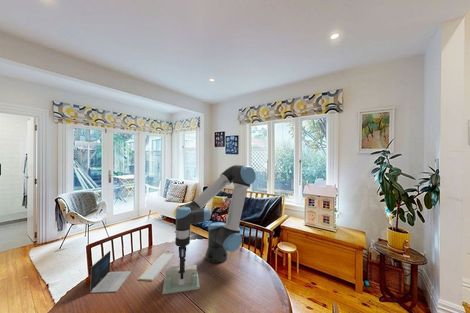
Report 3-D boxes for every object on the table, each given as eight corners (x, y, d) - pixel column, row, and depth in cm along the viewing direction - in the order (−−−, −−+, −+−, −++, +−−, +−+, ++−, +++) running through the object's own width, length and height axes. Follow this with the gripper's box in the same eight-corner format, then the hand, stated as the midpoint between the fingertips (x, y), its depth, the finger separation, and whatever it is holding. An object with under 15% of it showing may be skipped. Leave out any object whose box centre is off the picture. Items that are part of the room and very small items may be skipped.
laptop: (116, 292, 99) (117, 266, 99) (89, 293, 98) (90, 267, 98) (131, 272, 117) (132, 250, 117) (109, 273, 115) (109, 250, 116)
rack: (197, 273, 116) (197, 263, 116) (199, 288, 103) (199, 276, 103) (164, 277, 111) (165, 266, 112) (162, 294, 98) (162, 281, 98)
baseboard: (134, 280, 109) (152, 282, 108) (135, 275, 109) (152, 277, 108) (160, 254, 139) (174, 255, 138) (160, 250, 139) (174, 251, 138)
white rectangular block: (196, 277, 110) (196, 265, 110) (196, 282, 106) (196, 269, 106) (166, 279, 108) (166, 266, 108) (164, 284, 104) (165, 270, 104)
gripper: (176, 230, 117) (175, 269, 116) (174, 245, 96) (173, 292, 96) (189, 229, 119) (188, 267, 118) (190, 244, 98) (189, 290, 98)
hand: (181, 278), depth 107 cm, fingers open, 9 cm apart
